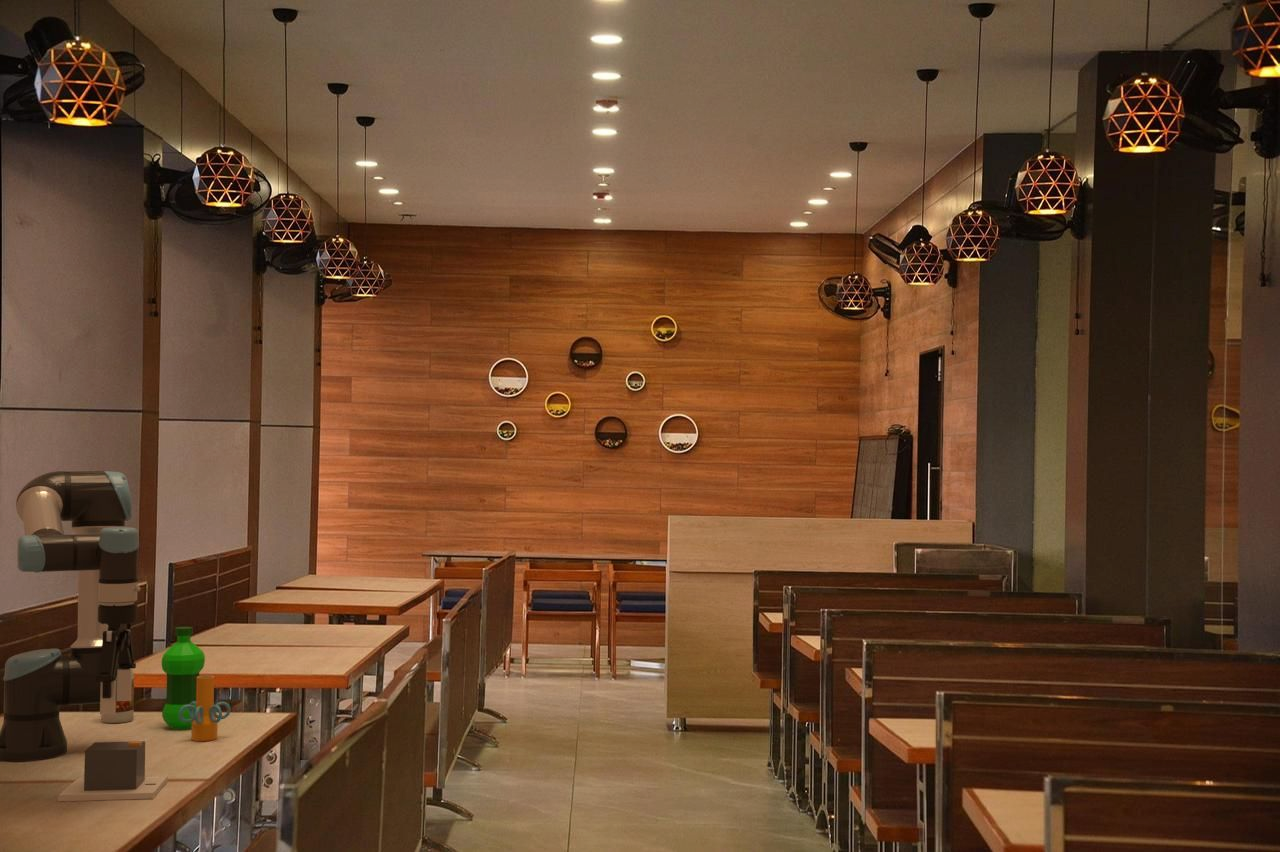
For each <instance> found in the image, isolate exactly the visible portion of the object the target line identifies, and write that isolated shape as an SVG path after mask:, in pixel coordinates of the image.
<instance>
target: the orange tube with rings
mask: <svg viewBox="0 0 1280 852" xmlns="http://www.w3.org/2000/svg"><path fill="white" fill-rule="evenodd" d="M214 695H215V676H214V675H199V676H198V677H197V686H196V701H193V702H191V703H190V705H185V706H183V707H182V708H181V709H180V711H179V718H180V719H181V721H183V722H191V721H192V728H191V732H190V733H191V741H195V742H210V741H214V740H217V739H218V723H219V722H221V720H225V719H227V718H228V717H229V716H230V713H231V705H230V704H229V703H228V702H226V701H219V702H217V703H215V702H214V700H215V699H214V698H215V696H214ZM194 704H195V705H196V708H195V707H194V706H193V705H194ZM221 706H225V707H226V710H227V711H226V712H225V714H223V711H222V709H221ZM186 708H188V711H189V715H190V716H191V718H190V719H185V718H183V716H182V712H183V710H184V709H186ZM192 710H193V711H194V714H193V713H192ZM217 712H218V713H217Z"/></svg>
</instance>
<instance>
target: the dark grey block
mask: <svg viewBox="0 0 1280 852" xmlns="http://www.w3.org/2000/svg"><path fill="white" fill-rule="evenodd" d="M83 769H84V770H83V771H84V773H83V778H84V791H95V790H132V789H137V788H138V787H139V786H140V785H141V784H142V783H143V781H144V780H145V777H146V776H145V775H146V741H145V740H144V741H143V740H141V741H139V740H138V741H100V742H99V741H97V742H94V743H92V744H91V745H90V746H88V748H86V749H85V750H84V768H83Z"/></svg>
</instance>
